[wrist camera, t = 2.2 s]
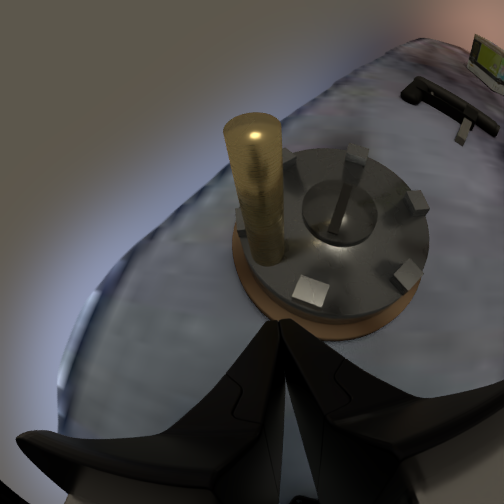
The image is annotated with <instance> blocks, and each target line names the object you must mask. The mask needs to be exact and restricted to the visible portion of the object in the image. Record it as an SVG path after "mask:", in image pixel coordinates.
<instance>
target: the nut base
mask: <svg viewBox="0 0 504 504" xmlns="http://www.w3.org/2000/svg"><path fill="white" fill-rule="evenodd" d="M232 250H233V258H234V263H235V266H236V270H237V273H238V276H239V278H240V281H241V283H242V285H243V287H244V289H245V291H246V293H247V294H248V296H249V297H250V299H251V301H252V302H253V303H254V304H255V305H256V307H257V308H258V309H259V310H260V311H261V312H262V313H263V314H264V315H265V316H266V317H268V318H269V319H270V320H278V322H279V320H280V319H286V318H291V319H293V320H294V321H295V322H297V323H298V324H299V325H301V326H302V327H303V328H305V329H306V330H308V331H309V332H310V333H312V334H313V335H314V336H316V337H317V338H318V339H320V340H321V341H345V340H352V339H356V338H359V337H363V336H366V335H368V334H370V333H373V332H375V331H377V330H379V329H380V328H382V327H383V326H385V325H386V324H388V323H389V322H390V321H392V320H393V319H394V318H395V317H397V316H398V315H399V314H400V313H401V312H402V311H403V310H404V309H405V307H406V306H407V305H408V304H409V302H410V301H411V299H412V298H413V296H414V294H415V292H416V291H417V288H418V285H419V283H420V280H421V278H420V279H419V280H418V281H417V282H416V283H415V284H414V286H413V287H412V288H411V289H410V290H409V291H408V292H407V293H406V294H405V295H404V296H402V297H400V298H399V299H398V300H397V301H396V302H395V303H394V304H393V305H392V306H390V307H389V308H388V309H387V310H385V311H383V312H382V313H380V314H379V315H377V316H374V317H372V318H370V319H367V320H364V321H360V322H357V323H350V324H324V323H318V322H314V321H310V320H307V319H304V318H301V317H299V316H297V315H295V314H292V313H290V312H289V311H287V310H285V309H284V308H282V307H281V306H279V305H278V304H277V303H275V302H274V301H273V300H272V299H271V298H269V297H268V296H267V294H266V293H265V292H264V291H263V290H262V289H261V288H260V286H259V285H258V284H257V282H256V281H255V279H254V278H253V276H252V274H251V272H250V270H249V268H248V265H247V261H246V258H245V255H244V251H243V248H242V244H241V241H240V238H239V236H238V233H237V225H236V223H235V226H234V232H233V238H232ZM422 271H423V270H422Z"/></svg>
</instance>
